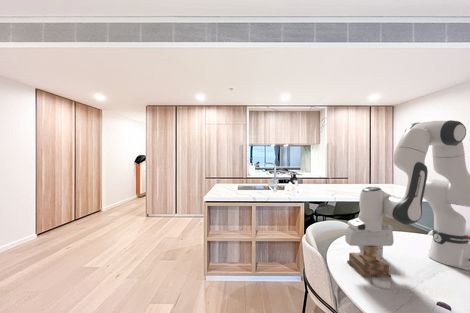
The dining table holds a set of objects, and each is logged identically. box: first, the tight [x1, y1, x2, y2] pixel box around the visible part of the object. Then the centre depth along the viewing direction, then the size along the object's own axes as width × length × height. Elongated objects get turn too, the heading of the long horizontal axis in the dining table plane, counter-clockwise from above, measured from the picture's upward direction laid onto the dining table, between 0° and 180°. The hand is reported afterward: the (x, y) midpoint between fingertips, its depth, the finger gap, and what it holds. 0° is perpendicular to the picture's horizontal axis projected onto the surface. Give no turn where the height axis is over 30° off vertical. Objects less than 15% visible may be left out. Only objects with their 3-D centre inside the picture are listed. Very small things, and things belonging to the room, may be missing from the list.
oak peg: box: [361, 246, 377, 262], centre depth 98 cm, size 4×4×8 cm
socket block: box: [347, 252, 392, 278], centre depth 98 cm, size 12×12×5 cm
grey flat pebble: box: [371, 277, 391, 290], centre depth 87 cm, size 6×6×2 cm
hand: (368, 254), depth 98 cm, fingers closed on oak peg, 4 cm apart
